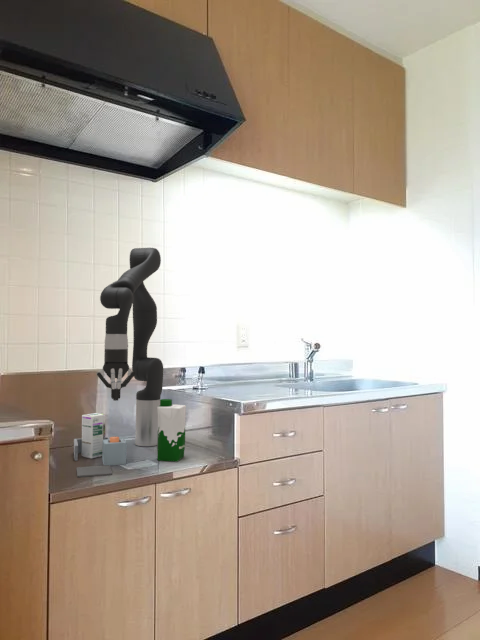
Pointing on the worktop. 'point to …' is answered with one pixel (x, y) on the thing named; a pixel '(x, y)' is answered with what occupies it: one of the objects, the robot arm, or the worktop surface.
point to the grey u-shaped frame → (79, 447)
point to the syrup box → (93, 434)
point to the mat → (93, 471)
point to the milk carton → (171, 431)
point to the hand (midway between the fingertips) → (115, 400)
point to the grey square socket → (114, 452)
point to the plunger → (114, 439)
